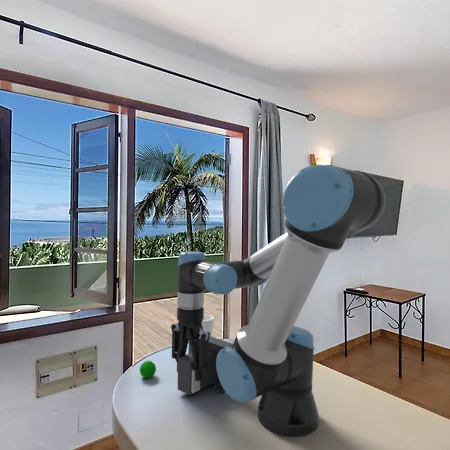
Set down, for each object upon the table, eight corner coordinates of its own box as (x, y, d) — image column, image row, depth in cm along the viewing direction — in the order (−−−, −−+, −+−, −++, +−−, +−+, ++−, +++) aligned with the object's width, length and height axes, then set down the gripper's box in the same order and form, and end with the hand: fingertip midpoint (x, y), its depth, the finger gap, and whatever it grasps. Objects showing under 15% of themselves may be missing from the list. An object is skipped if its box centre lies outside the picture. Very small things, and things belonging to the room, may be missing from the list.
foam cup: (191, 346, 134) (192, 313, 134) (214, 348, 133) (215, 314, 133) (185, 355, 125) (186, 320, 124) (210, 357, 123) (211, 321, 123)
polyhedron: (138, 374, 109) (138, 359, 109) (153, 372, 111) (154, 357, 111) (141, 381, 104) (141, 366, 104) (157, 379, 106) (157, 363, 106)
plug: (237, 370, 111) (238, 342, 111) (190, 395, 94) (191, 363, 94) (224, 365, 114) (225, 338, 114) (176, 388, 98) (177, 357, 97)
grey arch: (231, 388, 101) (233, 343, 101) (223, 394, 98) (224, 347, 98) (196, 373, 111) (197, 332, 110) (187, 377, 107) (188, 335, 107)
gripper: (223, 309, 94) (221, 393, 95) (178, 298, 106) (176, 373, 106) (204, 315, 88) (202, 404, 89) (159, 303, 100) (157, 382, 100)
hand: (188, 387), depth 97 cm, fingers closed on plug, 5 cm apart
